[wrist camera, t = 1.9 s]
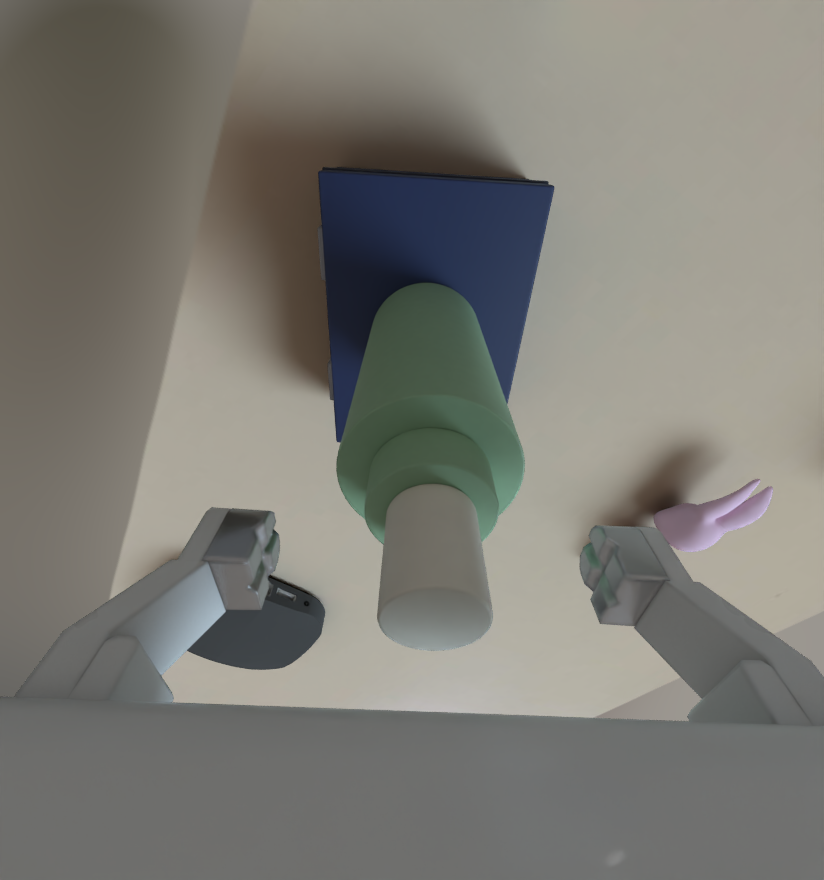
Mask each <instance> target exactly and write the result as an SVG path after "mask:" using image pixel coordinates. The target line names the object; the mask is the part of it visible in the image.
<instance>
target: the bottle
mask: <svg viewBox="0 0 824 880" xmlns="http://www.w3.org/2000/svg"><path fill="white" fill-rule="evenodd" d="M524 467H525V460H524V454H523V449H522V446H521V444H520V441H519V438H518V435H517V432H516V429H515V426H514V423H513V420H512V418H511V415H510V412H509V409H508V406H507V403H506V400H505V397H504V394H503V392H502V389H501V386H500V383H499V380H498V377H497V374H496V371H495V369H494V366H493V363H492V360H491V357H490V354H489V351H488V348H487V345H486V343H485V340H484V337H483V334H482V331H481V328H480V325H479V322H478V320H477V317H476V314H475V312H474V310H473V308H472V307H471V305H470V304H469V302H468V301H467V300H466V299H465V298H464V297H463V296H461V295H460V294H459V293H458V292H456V291H454V290H453V289H451V288H449V287H446V286H444V285H440V284H435V283H417V284H412V285H409V286H406V287H404V288H401V289H399V290H398V291H396V292H395V293H393V294H392V295H391V296H389V297H388V298H387V299H386V300H385V301H384V302H383V304H382V305H381V307H380V308H379V309H378V311H377V313H376V315H375V318H374V321H373V324H372V328H371V332H370V335H369V339H368V343H367V347H366V350H365V354H364V358H363V362H362V365H361V369H360V373H359V376H358V380H357V384H356V388H355V391H354V395H353V399H352V403H351V406H350V410H349V414H348V418H347V421H346V425H345V429H344V433H343V436H342V440H341V444H340V447H339V451H338V456H337V468H336V471H337V477H338V482H339V485H340V488H341V490H342V492H343V494H344V496H345V498H346V500H347V501H348V502H349V504H350V505H351V506H352V508H353V509H354V510H355V511H356V512H357V513H358V514H359V515H361V516H362V517H363V518H364V519H365V520H366V523H367V525H368V527H369V529H370V531H371V532H372V534H373V535H374V536H375V537H376V538H377V539H378V540H379V541H380V542H381V543H382V544H383V545H384V546H383V557H382V568H381V579H380V590H379V601H378V613H377V619H378V623H379V626H380V628H381V630H382V631H383V633H384V634H385V635H386V636H388V637H389V638H390V639H392V640H393V641H395V642H397V643H399V644H401V645H404V646H407V647H410V648H414V649H420V650H429V651H439V650H450V649H455V648H459V647H463V646H466V645H468V644H471V643H473V642H475V641H476V640H478V639H480V638H481V637H482V636H483V635H485V633H486V632H487V631H488V630H489V628H490V626H491V624H492V620H493V611H492V605H491V599H490V593H489V586H488V580H487V574H486V567H485V561H484V555H483V549H482V541H484V540H485V539H486V538H487V537H488V536H489V534H490V533H491V532H492V530H493V528H494V527H495V525H496V522H497V519H498V516H499V515H500V514H501V513H502V512H503V511H504V510H505V509H506V508H507V507H508V506H509V505H510V503H511V502H512V501H513V500H514V498H515V496H516V494H517V493H518V491H519V489H520V486H521V483H522V480H523V475H524Z"/></svg>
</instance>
